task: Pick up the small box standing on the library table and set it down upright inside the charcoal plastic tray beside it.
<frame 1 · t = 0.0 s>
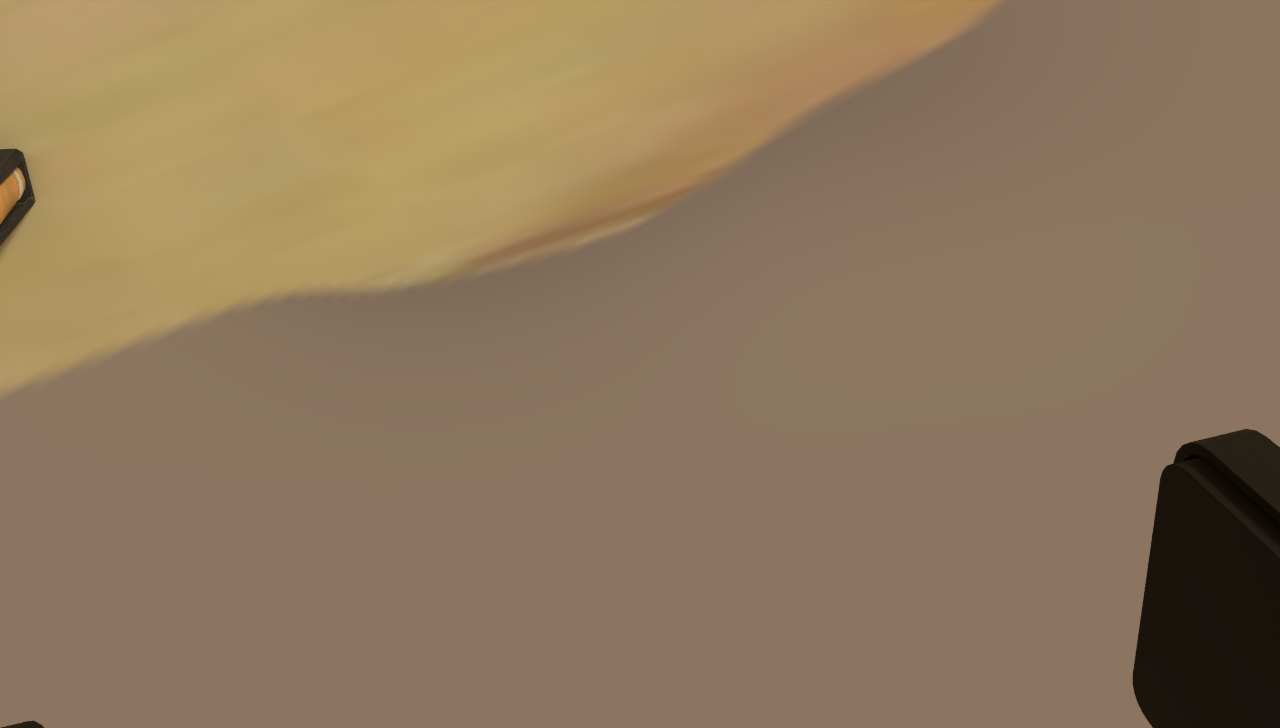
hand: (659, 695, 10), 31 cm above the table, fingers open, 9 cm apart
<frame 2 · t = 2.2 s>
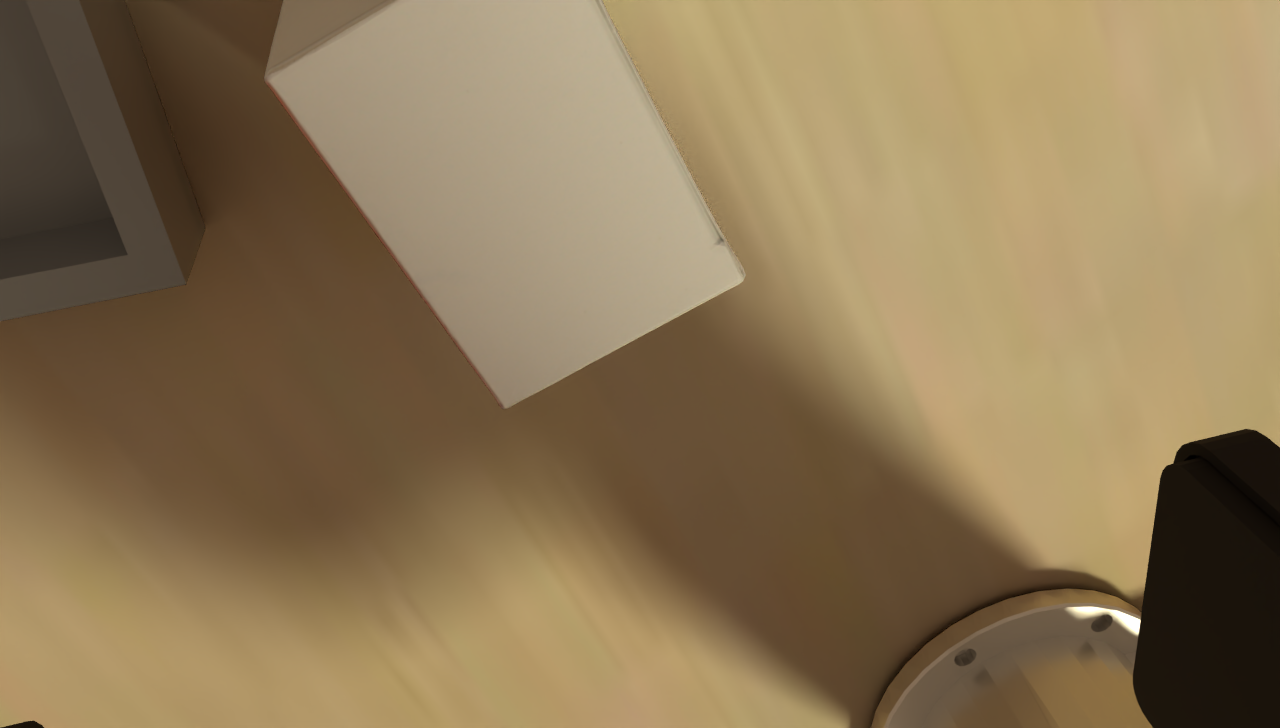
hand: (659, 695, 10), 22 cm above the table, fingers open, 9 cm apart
small box: (478, 38, 29), on the table
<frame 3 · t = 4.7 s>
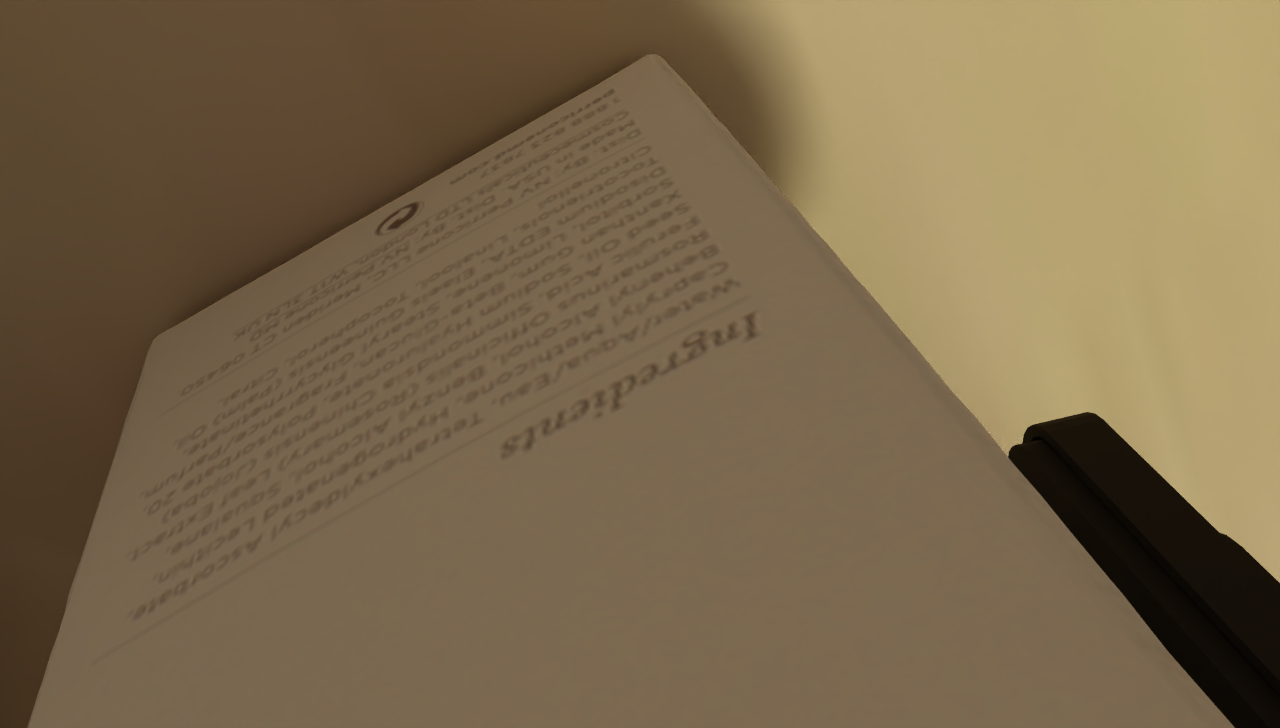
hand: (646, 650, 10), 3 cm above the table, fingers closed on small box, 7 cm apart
small box: (593, 461, 13), on the table, touching gripper
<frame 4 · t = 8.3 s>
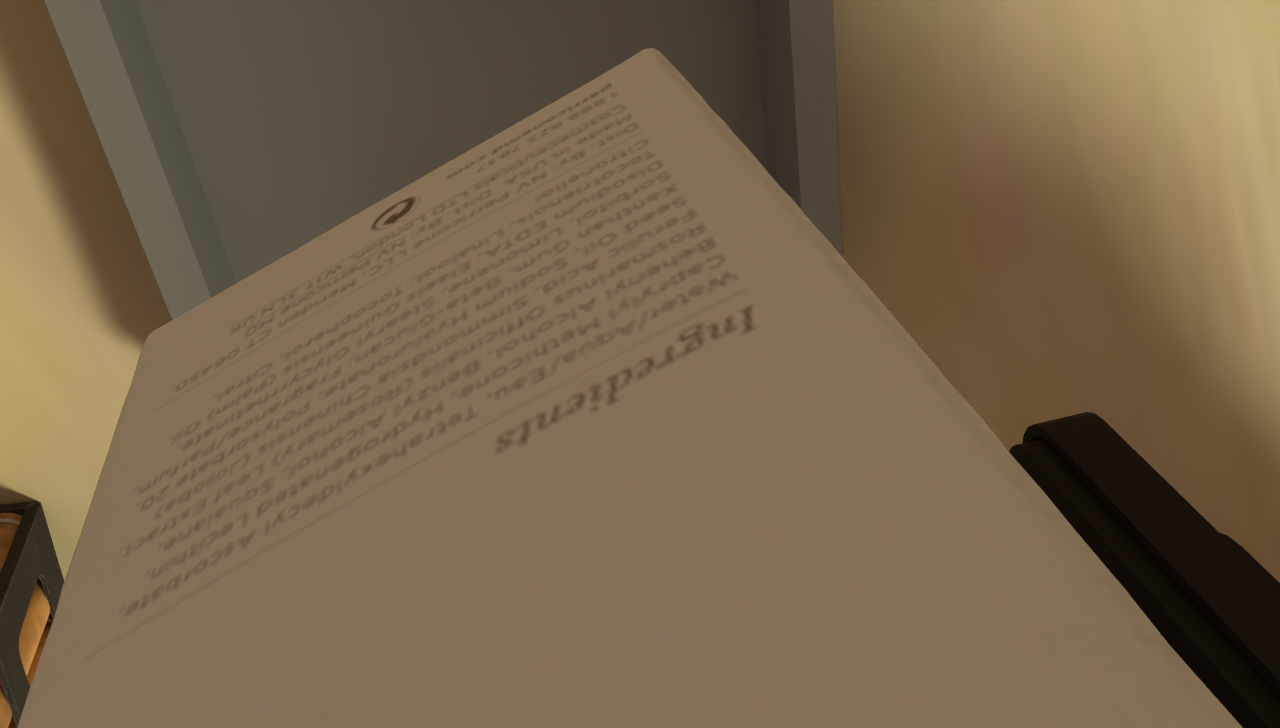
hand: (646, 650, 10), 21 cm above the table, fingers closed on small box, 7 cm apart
small box: (591, 458, 13), point 18 cm above the table, touching gripper
tray: (472, 54, 28), on the table
ammunition clip: (50, 642, 34), on the table
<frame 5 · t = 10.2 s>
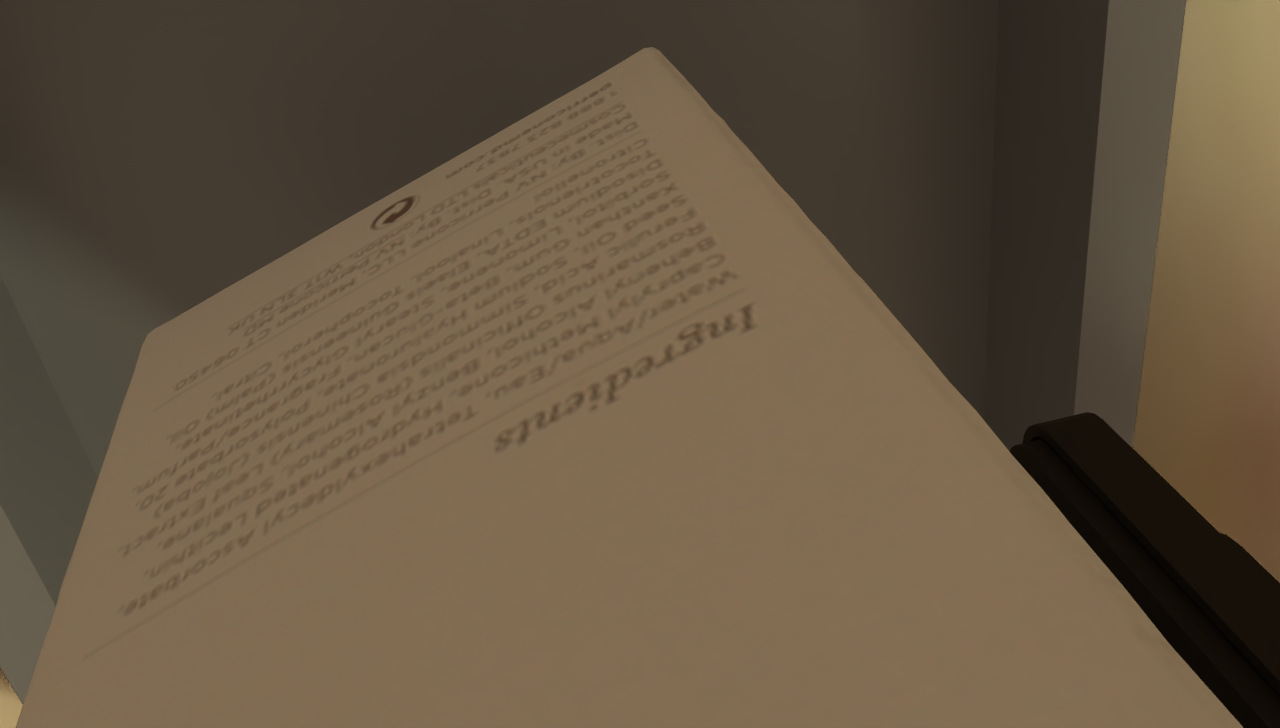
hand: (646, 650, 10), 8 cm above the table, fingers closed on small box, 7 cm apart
small box: (590, 457, 13), point 5 cm above the table, touching gripper
tray: (538, 266, 17), on the table
when the fingers open (5 cm above the table, at t = 11.9 s): small box drops 1 cm, resting on tray.
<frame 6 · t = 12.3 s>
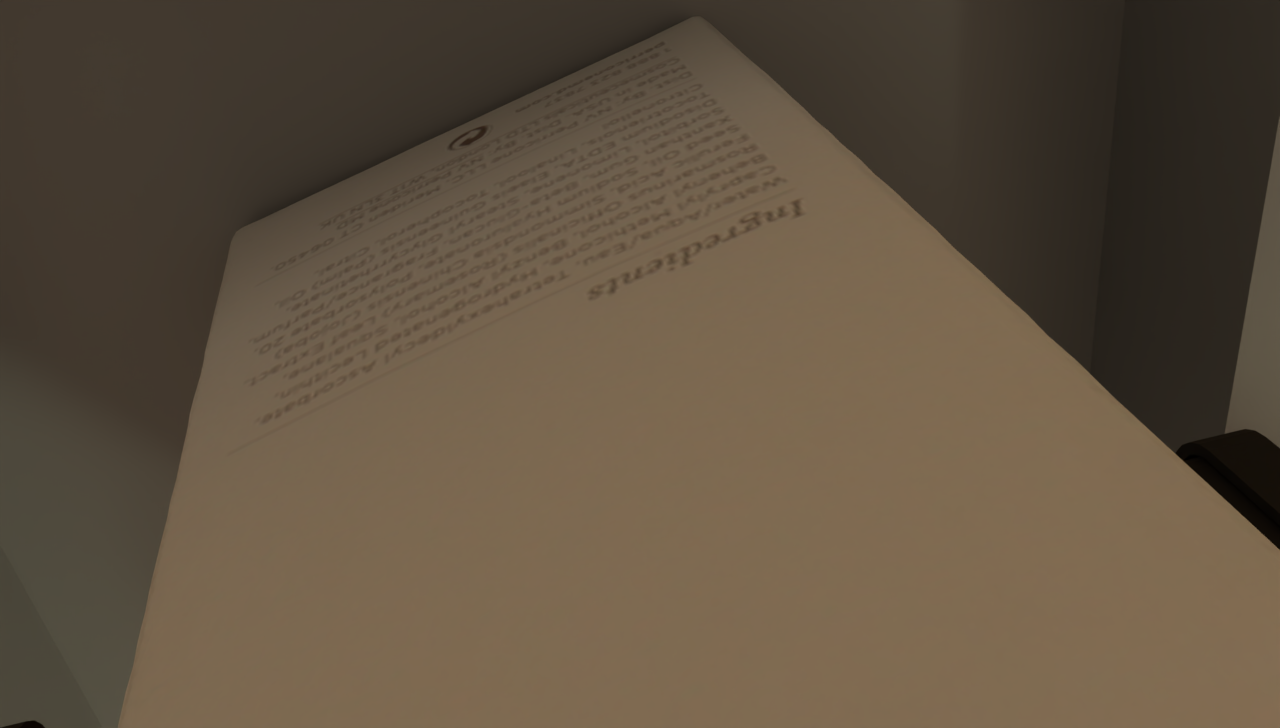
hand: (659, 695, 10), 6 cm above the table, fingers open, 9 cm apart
small box: (605, 385, 14), point 1 cm above the table, touching tray
tray: (564, 363, 15), on the table
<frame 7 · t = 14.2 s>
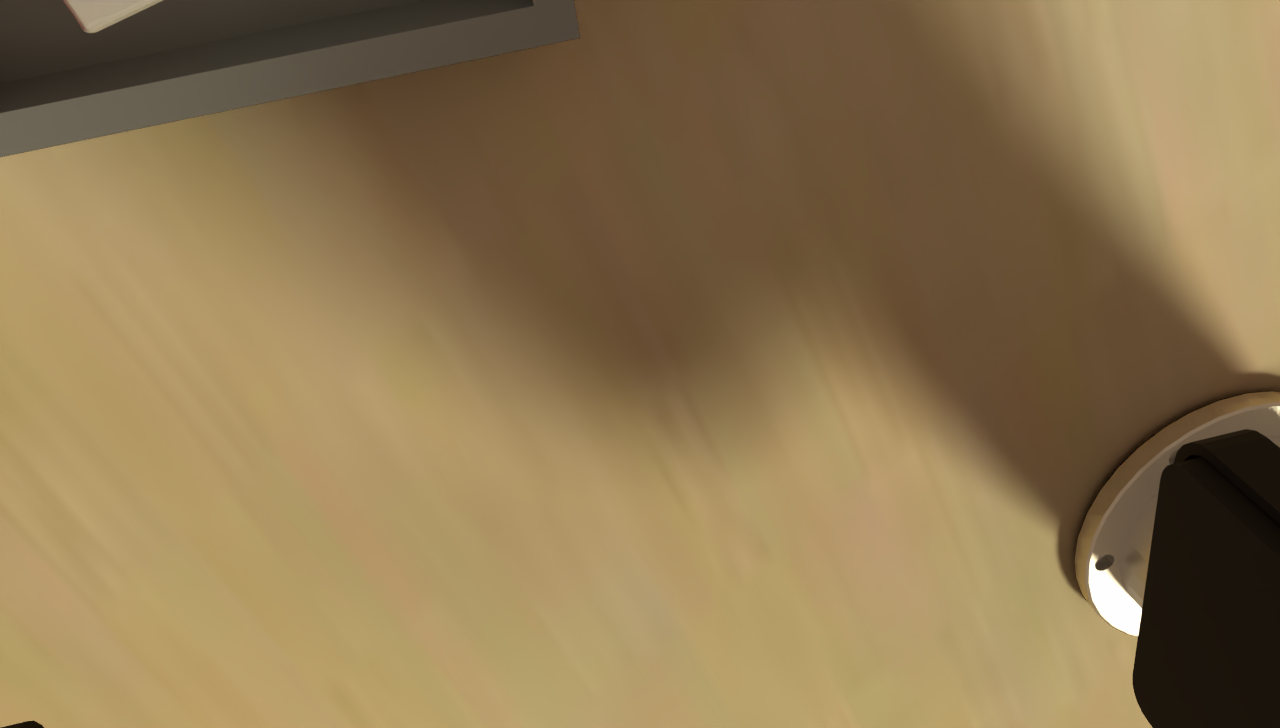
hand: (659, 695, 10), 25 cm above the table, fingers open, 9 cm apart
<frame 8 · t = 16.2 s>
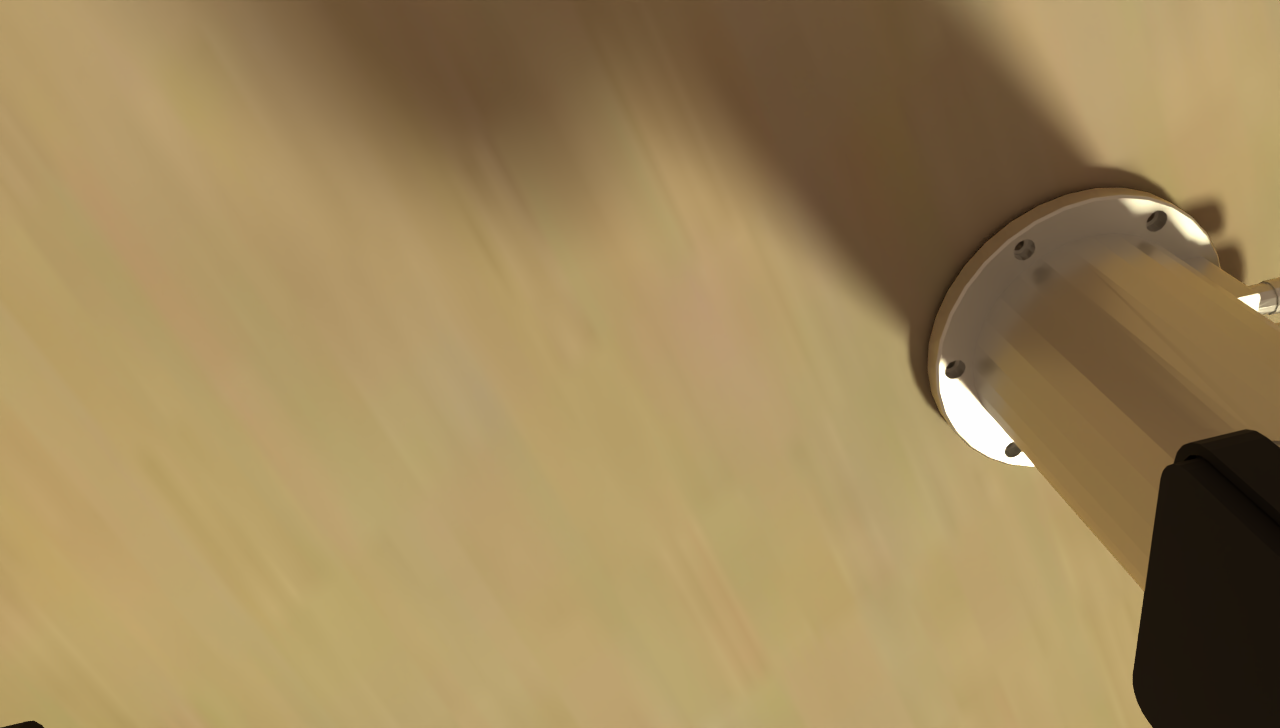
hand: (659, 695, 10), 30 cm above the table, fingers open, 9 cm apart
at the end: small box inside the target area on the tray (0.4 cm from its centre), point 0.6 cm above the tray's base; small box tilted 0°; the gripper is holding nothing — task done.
